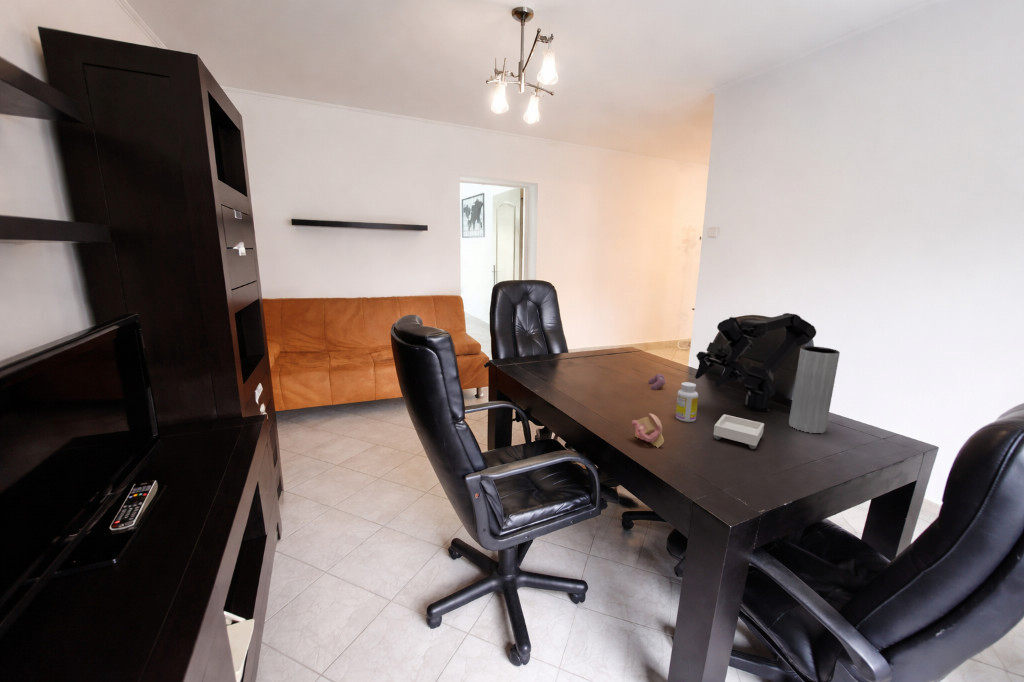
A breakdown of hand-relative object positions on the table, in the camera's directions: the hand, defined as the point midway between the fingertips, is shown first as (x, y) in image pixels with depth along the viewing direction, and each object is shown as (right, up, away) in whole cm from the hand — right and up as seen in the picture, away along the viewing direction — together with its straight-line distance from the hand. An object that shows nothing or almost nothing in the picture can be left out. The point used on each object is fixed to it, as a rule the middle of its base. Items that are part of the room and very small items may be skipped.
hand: (705, 381), depth 139 cm
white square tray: (+3, -16, -15) cm, 22 cm away
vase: (+31, -15, -7) cm, 35 cm away
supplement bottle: (-7, -13, +1) cm, 15 cm away
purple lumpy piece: (-5, -6, +35) cm, 36 cm away
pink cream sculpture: (-26, -17, -17) cm, 36 cm away
